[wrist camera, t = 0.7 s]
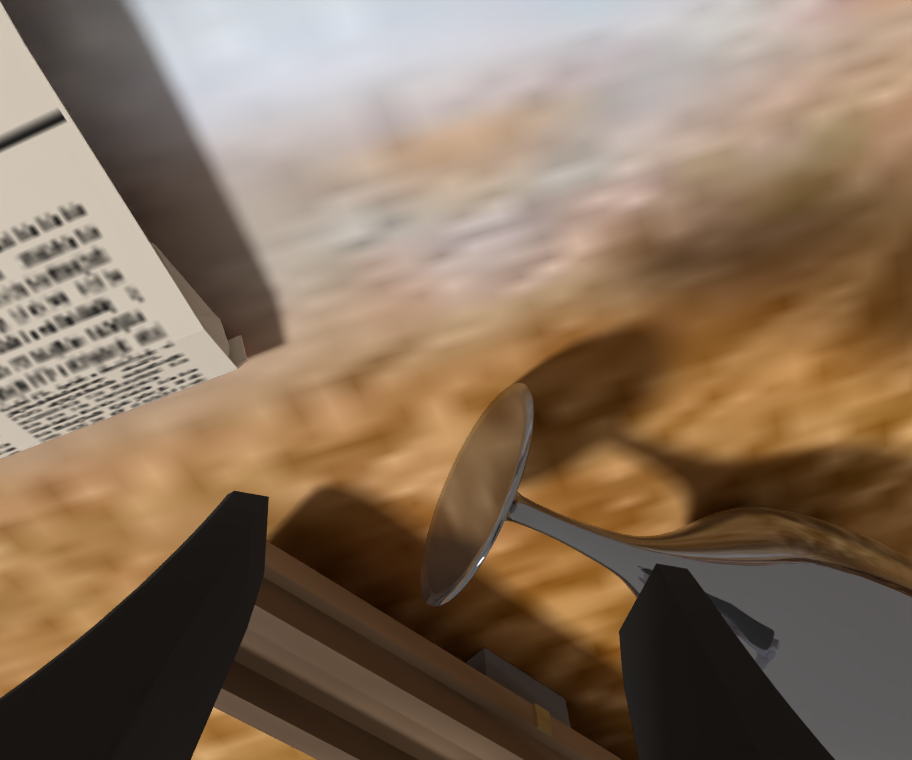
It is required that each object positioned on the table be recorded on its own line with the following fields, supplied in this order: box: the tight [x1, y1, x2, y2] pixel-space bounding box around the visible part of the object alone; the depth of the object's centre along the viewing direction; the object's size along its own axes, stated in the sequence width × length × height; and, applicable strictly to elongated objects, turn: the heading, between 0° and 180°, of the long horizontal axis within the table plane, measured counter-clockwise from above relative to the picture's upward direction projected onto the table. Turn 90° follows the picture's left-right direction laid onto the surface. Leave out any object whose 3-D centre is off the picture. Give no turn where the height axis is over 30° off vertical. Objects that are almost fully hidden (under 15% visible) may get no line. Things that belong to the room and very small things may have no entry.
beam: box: [214, 541, 622, 760], centre depth 27 cm, size 6×28×4 cm, turn 48°
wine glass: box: [421, 383, 912, 760], centre depth 20 cm, size 8×8×15 cm
